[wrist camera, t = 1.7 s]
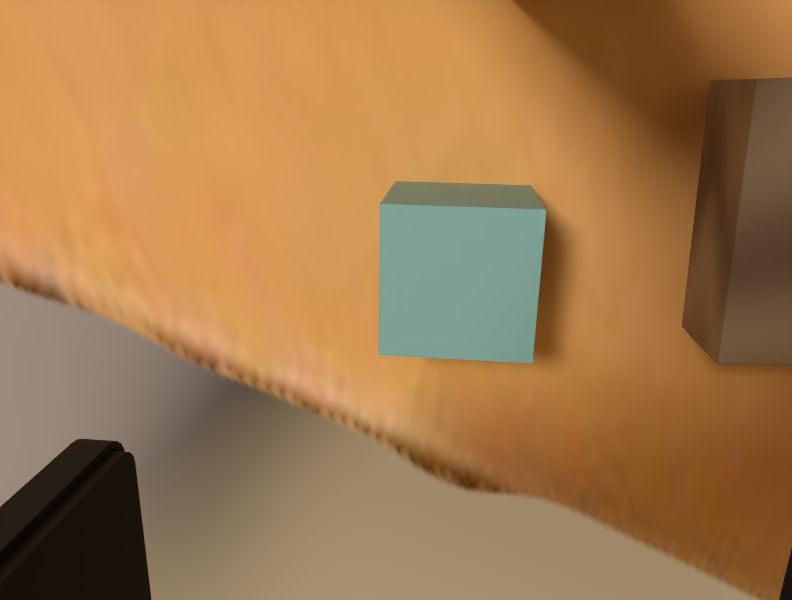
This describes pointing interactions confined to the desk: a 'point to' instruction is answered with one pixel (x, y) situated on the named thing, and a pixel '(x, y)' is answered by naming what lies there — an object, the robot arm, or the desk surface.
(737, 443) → the desk surface
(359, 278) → the desk surface
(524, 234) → the teal cube
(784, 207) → the walnut block
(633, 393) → the desk surface
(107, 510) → the robot arm
